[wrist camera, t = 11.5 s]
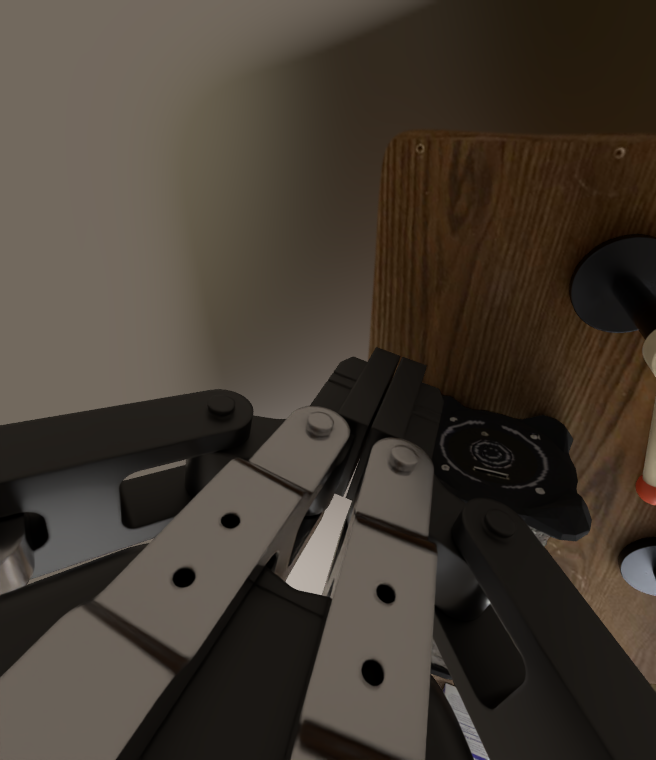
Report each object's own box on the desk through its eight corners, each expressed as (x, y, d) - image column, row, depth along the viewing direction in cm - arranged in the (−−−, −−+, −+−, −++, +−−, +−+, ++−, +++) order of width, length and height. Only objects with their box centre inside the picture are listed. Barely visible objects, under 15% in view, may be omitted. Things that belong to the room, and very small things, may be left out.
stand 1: (660, 213, 33) (733, 250, 23) (698, 299, 35) (782, 371, 24) (552, 267, 37) (573, 320, 27) (592, 342, 39) (625, 418, 29)
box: (440, 694, 74) (434, 753, 67) (445, 681, 72) (439, 740, 65) (488, 713, 72) (486, 775, 65) (494, 700, 70) (493, 763, 63)
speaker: (575, 414, 43) (604, 528, 30) (505, 589, 57) (506, 714, 45) (423, 384, 47) (396, 474, 34) (394, 555, 61) (368, 661, 49)
